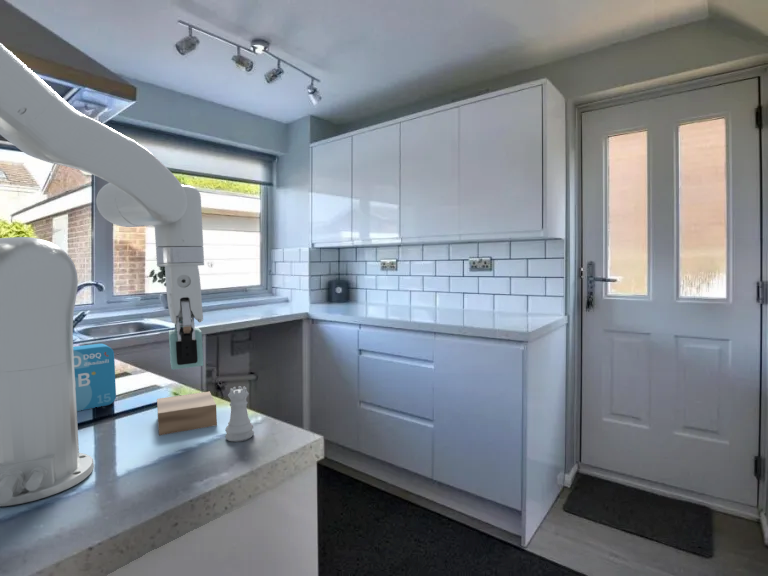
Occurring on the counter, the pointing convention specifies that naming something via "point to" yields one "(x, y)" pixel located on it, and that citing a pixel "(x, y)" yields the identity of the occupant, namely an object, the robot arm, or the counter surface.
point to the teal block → (174, 355)
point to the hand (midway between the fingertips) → (186, 359)
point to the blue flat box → (94, 376)
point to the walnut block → (186, 412)
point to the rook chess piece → (238, 417)
